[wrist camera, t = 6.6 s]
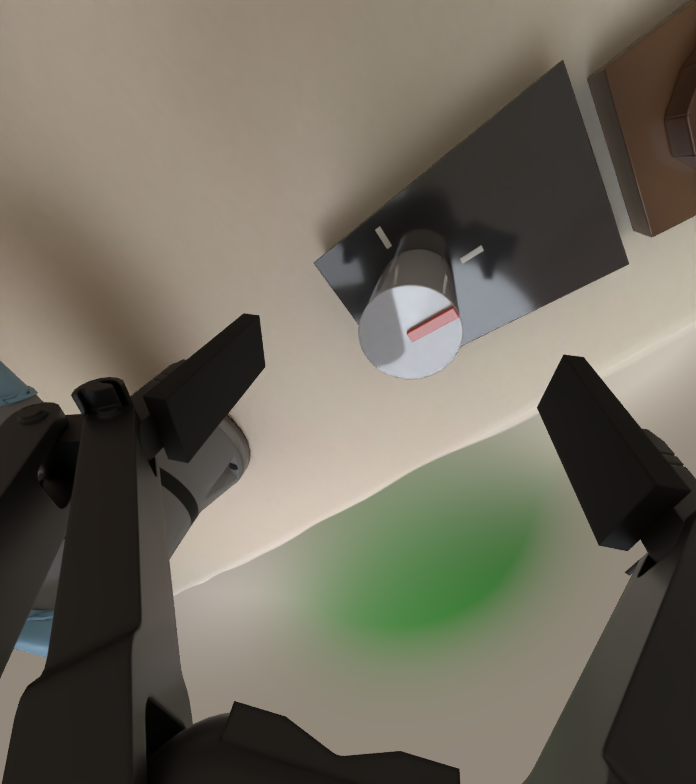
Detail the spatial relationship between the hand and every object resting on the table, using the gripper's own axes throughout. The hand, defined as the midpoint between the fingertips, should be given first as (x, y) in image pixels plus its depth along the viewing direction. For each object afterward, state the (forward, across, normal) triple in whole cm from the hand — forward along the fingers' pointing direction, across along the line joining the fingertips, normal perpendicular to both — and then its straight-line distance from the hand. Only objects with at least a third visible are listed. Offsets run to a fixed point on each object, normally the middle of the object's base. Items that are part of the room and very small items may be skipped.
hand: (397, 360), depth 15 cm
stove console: (+13, +3, +2) cm, 13 cm away
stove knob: (+10, 0, 0) cm, 10 cm away
